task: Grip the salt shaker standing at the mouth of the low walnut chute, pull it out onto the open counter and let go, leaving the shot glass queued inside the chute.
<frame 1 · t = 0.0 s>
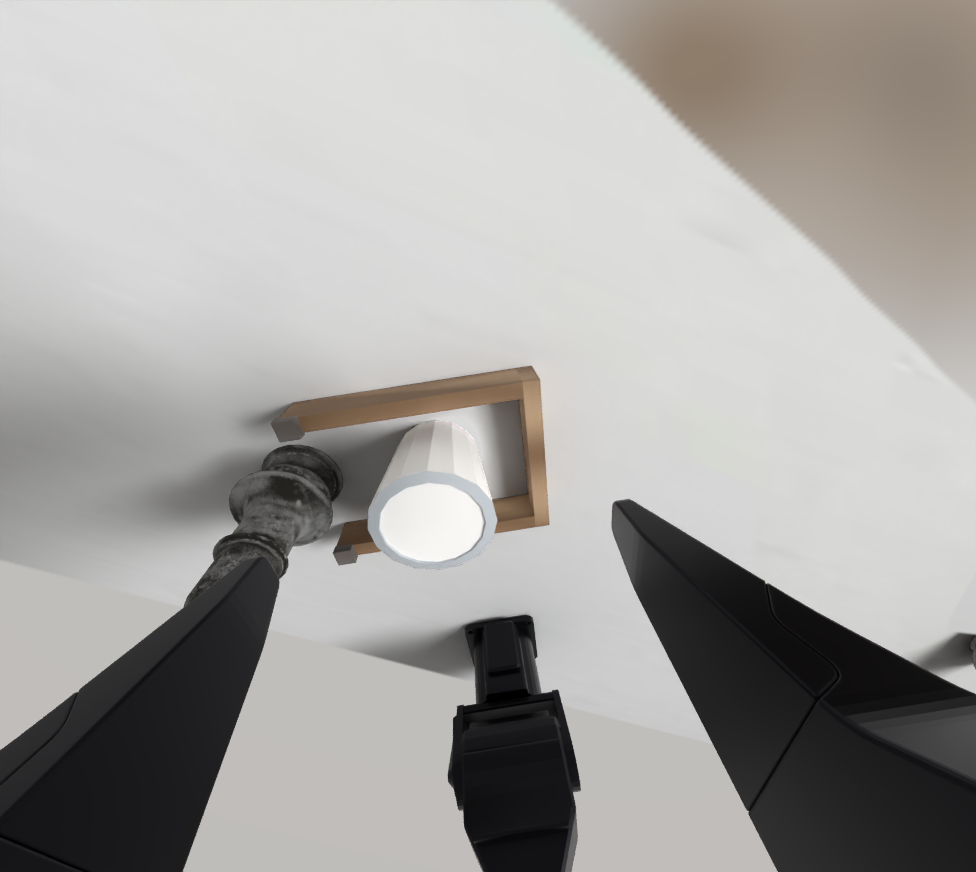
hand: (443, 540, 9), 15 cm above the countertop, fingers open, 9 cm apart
chute: (424, 458, 25), on the countertop
salt shaker: (304, 475, 25), on the countertop
coffee pot: (959, 651, 45), on the countertop
shot glass: (438, 454, 25), resting in chute
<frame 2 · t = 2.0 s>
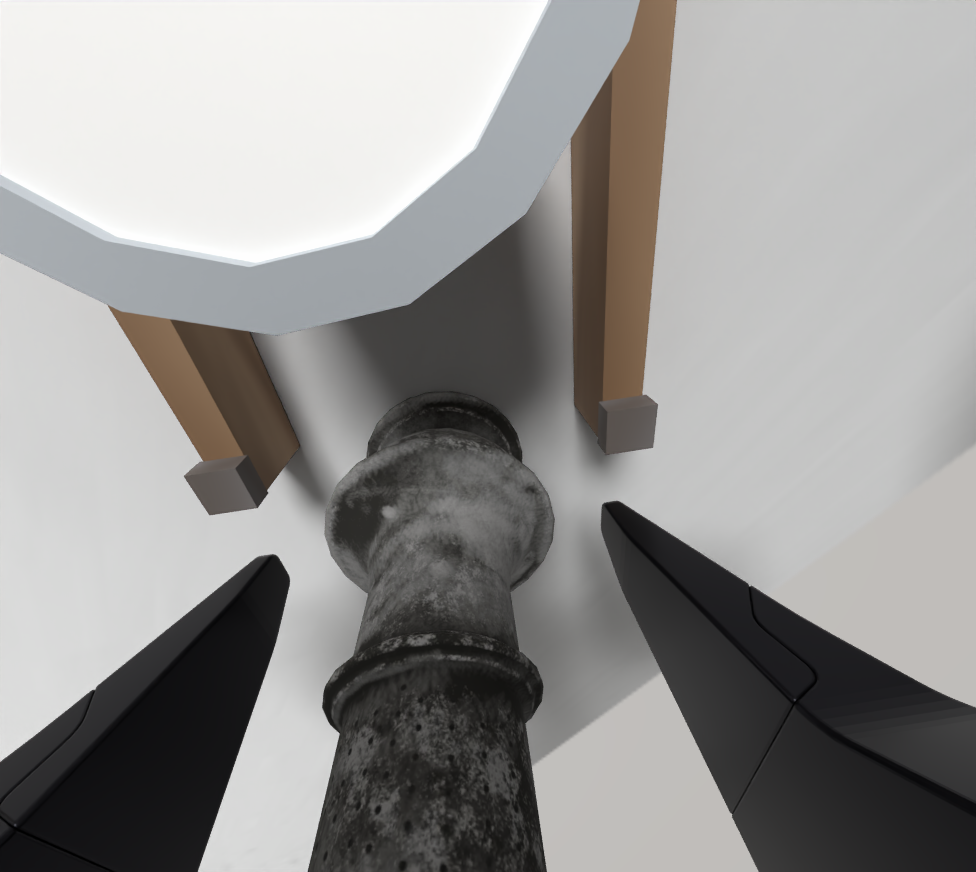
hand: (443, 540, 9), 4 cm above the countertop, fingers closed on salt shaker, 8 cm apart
chute: (378, 158, 8), on the countertop
salt shaker: (446, 459, 13), on the countertop, touching gripper
shot glass: (368, 104, 8), resting in chute
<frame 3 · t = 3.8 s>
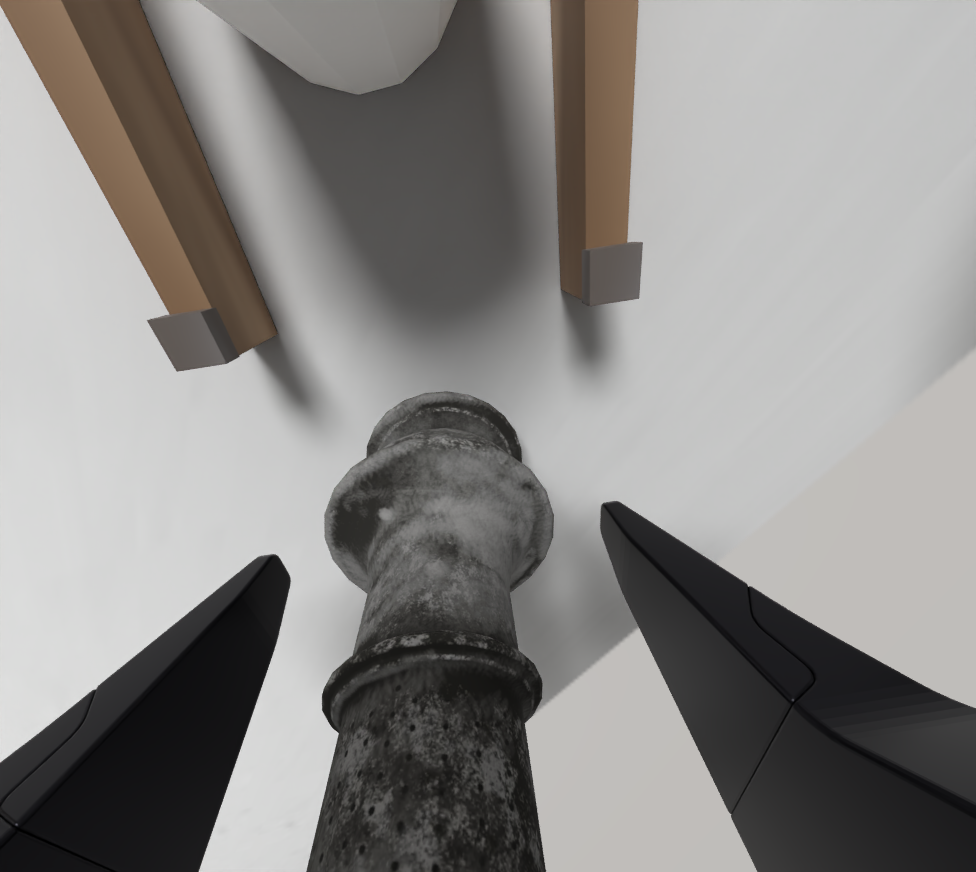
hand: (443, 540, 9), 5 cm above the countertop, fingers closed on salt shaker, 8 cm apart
salt shaker: (445, 460, 13), point 1 cm above the countertop, touching gripper
when the fingers open (4 cm above the countertop, at t = 5.9 s): salt shaker stays where it is, on the countertop.
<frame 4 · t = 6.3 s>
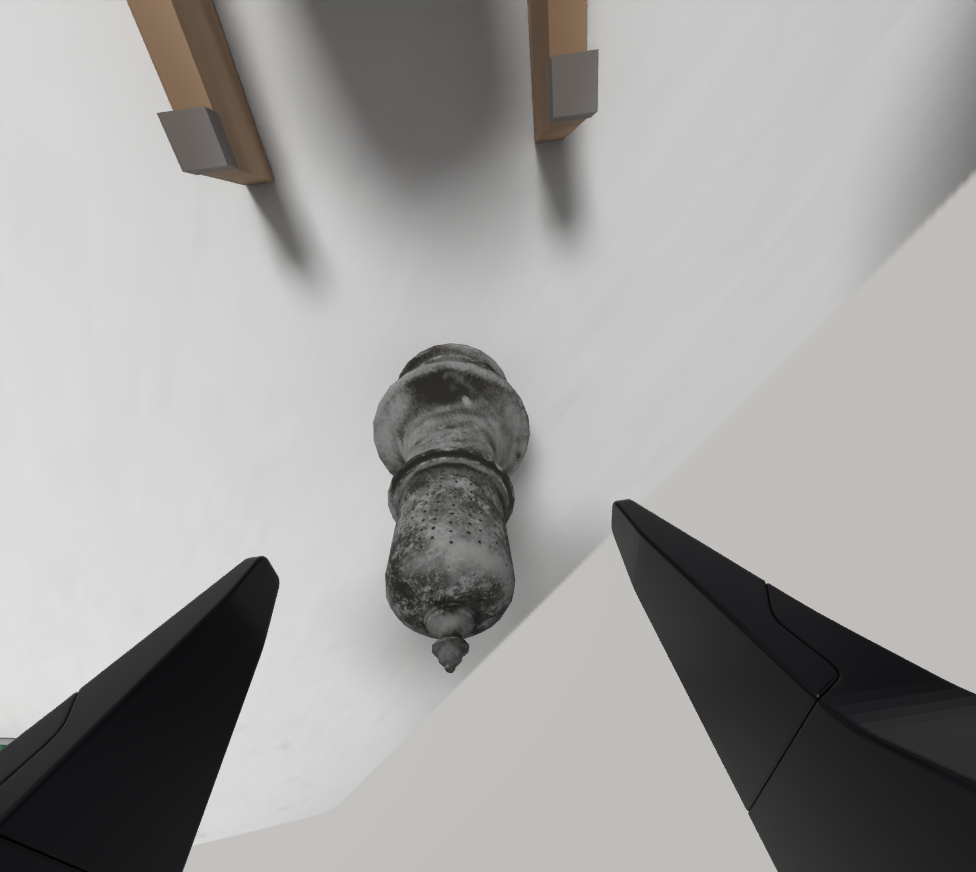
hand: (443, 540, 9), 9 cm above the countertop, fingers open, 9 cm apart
salt shaker: (453, 398, 17), on the countertop
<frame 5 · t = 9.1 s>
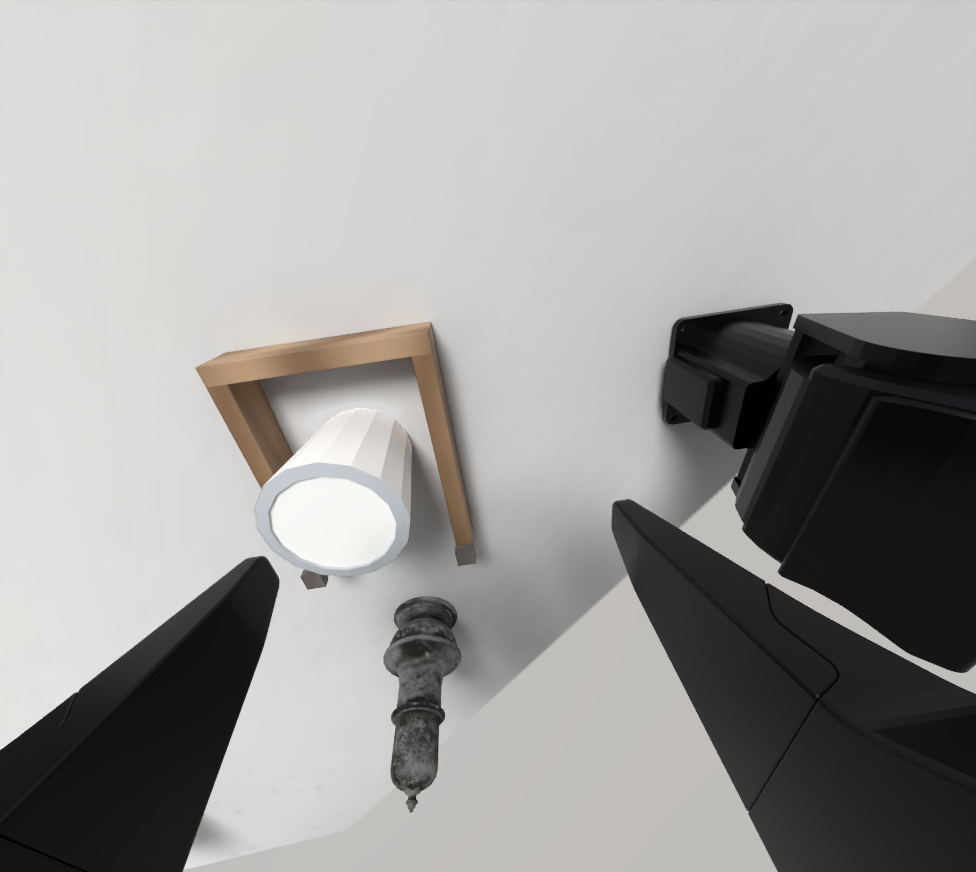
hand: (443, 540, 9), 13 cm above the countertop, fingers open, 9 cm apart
chute: (371, 462, 23), on the countertop
salt shaker: (425, 615, 31), on the countertop
shot glass: (367, 447, 23), resting in chute
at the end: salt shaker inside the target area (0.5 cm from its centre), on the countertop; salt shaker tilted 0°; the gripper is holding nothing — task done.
